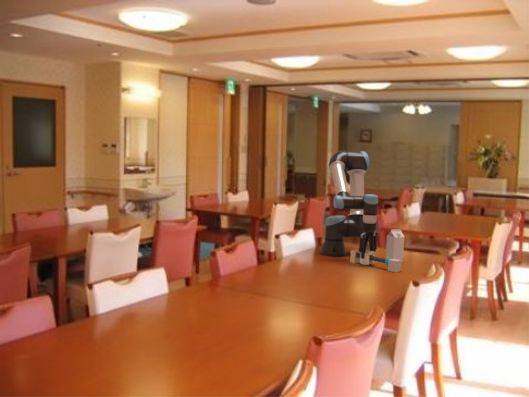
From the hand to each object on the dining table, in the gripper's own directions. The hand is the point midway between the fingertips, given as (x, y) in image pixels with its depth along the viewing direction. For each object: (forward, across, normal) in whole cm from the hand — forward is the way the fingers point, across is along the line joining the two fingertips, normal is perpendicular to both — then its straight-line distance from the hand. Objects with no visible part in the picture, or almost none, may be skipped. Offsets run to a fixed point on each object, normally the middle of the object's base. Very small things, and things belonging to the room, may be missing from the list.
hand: (366, 263), depth 316 cm
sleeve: (0, 0, 0) cm, 0 cm away
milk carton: (+1, +22, -4) cm, 22 cm away
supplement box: (+1, +14, +10) cm, 17 cm away
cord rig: (+1, 0, -5) cm, 5 cm away
